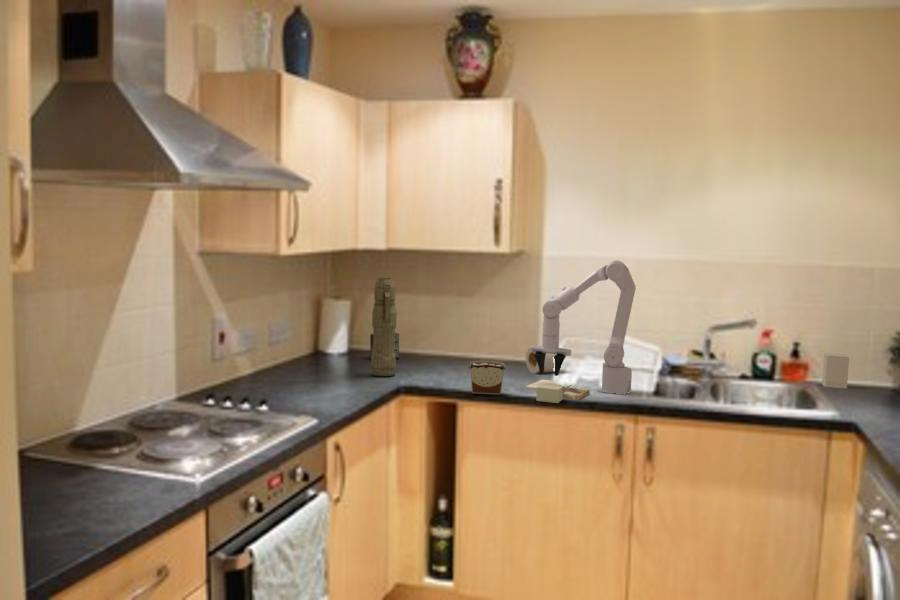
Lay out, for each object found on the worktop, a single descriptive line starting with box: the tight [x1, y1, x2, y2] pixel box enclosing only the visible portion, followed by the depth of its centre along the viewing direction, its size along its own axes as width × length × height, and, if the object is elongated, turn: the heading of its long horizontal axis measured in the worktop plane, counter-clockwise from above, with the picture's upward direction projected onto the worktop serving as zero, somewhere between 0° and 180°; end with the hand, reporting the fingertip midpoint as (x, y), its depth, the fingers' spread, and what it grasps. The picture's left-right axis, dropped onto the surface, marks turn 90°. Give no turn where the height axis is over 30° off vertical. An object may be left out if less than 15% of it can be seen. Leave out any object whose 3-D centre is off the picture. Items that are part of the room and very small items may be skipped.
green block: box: [535, 384, 564, 404], centre depth 249 cm, size 4×6×7 cm
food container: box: [468, 360, 507, 395], centre depth 259 cm, size 12×6×10 cm, turn 84°
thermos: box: [370, 277, 398, 377], centre depth 285 cm, size 9×12×35 cm
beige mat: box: [525, 379, 565, 391], centre depth 270 cm, size 11×15×1 cm
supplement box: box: [821, 352, 850, 389], centre depth 280 cm, size 7×7×13 cm
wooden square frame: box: [563, 386, 590, 401], centre depth 257 cm, size 10×11×2 cm
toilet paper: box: [525, 347, 557, 374], centre depth 298 cm, size 10×10×10 cm
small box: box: [369, 332, 400, 359], centre depth 319 cm, size 11×6×10 cm, turn 130°
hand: (549, 374), depth 270 cm, fingers open, 5 cm apart
